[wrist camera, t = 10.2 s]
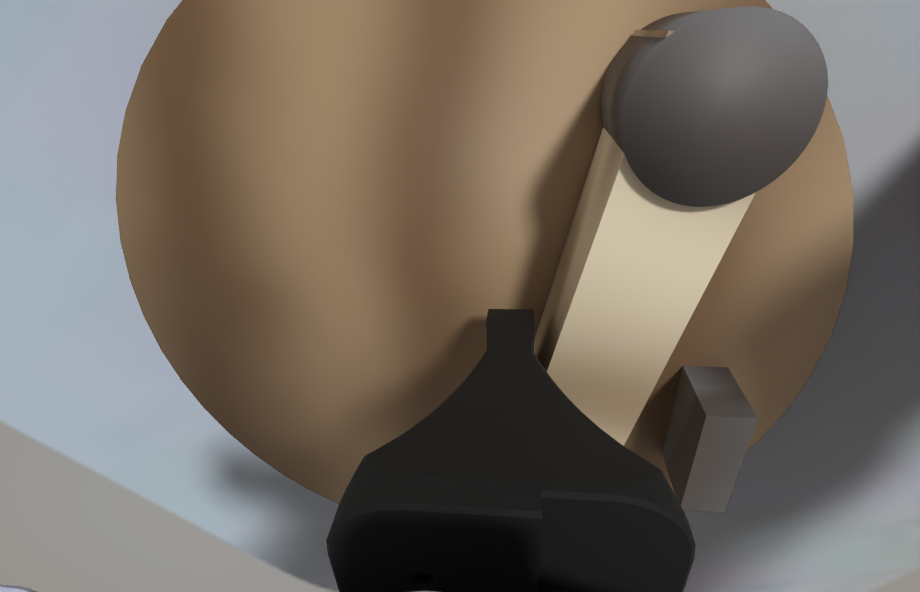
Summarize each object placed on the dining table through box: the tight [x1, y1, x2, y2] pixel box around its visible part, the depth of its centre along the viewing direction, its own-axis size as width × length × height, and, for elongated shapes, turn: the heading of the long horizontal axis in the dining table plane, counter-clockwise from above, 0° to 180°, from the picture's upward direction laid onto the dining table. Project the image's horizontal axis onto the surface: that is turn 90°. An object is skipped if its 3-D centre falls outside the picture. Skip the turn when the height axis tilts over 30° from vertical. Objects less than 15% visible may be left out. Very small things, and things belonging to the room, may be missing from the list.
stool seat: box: [116, 0, 854, 513], centre depth 14 cm, size 20×20×4 cm
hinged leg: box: [534, 6, 828, 446], centre depth 11 cm, size 14×3×3 cm, turn 170°
